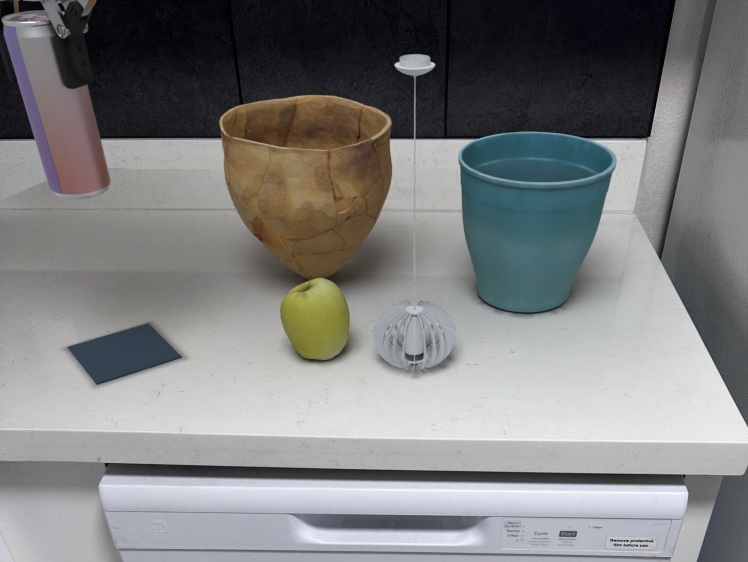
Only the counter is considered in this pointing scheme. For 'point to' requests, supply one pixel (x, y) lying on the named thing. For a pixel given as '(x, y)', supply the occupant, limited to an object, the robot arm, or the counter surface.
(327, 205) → the bowl
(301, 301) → the apple
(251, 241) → the counter surface
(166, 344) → the mat
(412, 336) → the pendant light
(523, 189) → the flower pot
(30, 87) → the beverage can
